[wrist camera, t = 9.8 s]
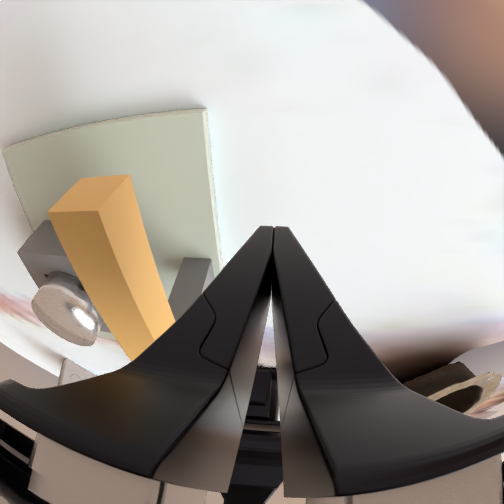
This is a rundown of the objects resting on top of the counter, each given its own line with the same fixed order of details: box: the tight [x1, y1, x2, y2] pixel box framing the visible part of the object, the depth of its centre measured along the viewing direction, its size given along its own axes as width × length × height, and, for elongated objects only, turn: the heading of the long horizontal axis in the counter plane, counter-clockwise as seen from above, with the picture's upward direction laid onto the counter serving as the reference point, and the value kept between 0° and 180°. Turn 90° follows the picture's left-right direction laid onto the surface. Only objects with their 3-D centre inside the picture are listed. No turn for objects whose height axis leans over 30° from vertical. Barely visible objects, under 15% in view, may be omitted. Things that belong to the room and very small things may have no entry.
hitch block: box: [2, 108, 223, 341], centre depth 20 cm, size 24×17×8 cm
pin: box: [32, 271, 104, 346], centre depth 19 cm, size 6×6×6 cm
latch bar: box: [47, 174, 175, 361], centre depth 11 cm, size 12×3×2 cm, turn 1°
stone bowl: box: [403, 362, 502, 415], centre depth 31 cm, size 25×25×9 cm
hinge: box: [58, 358, 97, 386], centre depth 42 cm, size 17×5×10 cm, turn 45°
